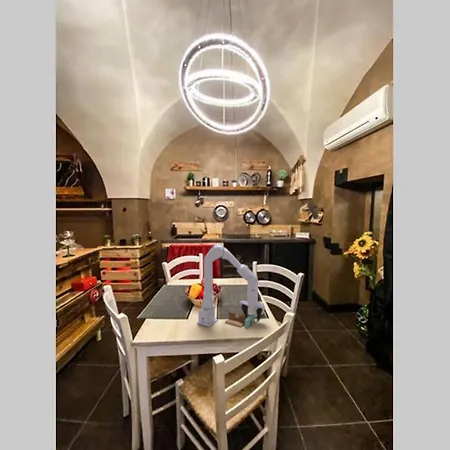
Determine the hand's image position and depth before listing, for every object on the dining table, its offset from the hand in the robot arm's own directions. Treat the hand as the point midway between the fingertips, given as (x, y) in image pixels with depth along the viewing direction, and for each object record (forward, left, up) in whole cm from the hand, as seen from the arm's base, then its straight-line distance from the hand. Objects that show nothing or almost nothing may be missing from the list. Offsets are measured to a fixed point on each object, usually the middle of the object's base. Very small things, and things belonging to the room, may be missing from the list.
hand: (252, 319), depth 144 cm
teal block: (-3, 0, -1) cm, 3 cm away
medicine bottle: (+10, +3, -2) cm, 10 cm away
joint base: (-4, +8, -1) cm, 9 cm away
